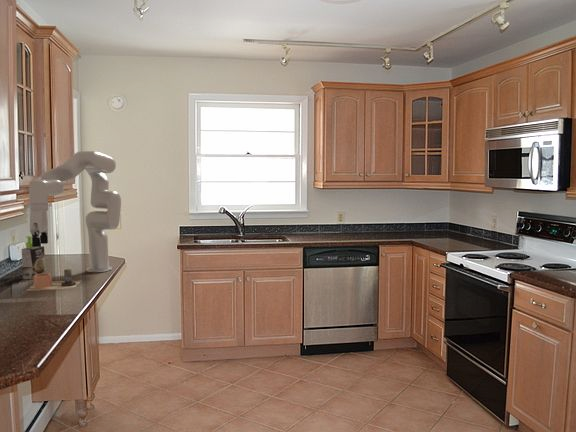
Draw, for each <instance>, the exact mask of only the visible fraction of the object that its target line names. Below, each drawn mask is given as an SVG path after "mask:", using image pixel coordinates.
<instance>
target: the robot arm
mask: <svg viewBox="0 0 576 432" xmlns="http://www.w3.org/2000/svg"><path fill="white" fill-rule="evenodd" d="M116 165H117V164H116V161H115V159H114V158H113V157H112V156H109V155H107V154H104V153H101V152H98V151H94V150H92V151H91V150H86V151H85V150H81V151H77V152H75V153H74V154H73V155H72V156H70V157H69V158H68V159H66V161H64V162H63V163H62V164H61V165H59V166H55V167H54V168H51V169H49V170H47V171H45V172H43V173H41V174H40V175H39V176H38V177H37V178H35V179H32V180H30V181H29V182H28V194H29V195H28V197H29V211H30V215H29V233H30V234H31V236H32V238H31V241H32V246H33V247H39V246H41V245H42V244H43V245H44V244H46V245H47V244H48V243H49V239H48V238H49V235H48V231H49V220H48V218H49V217H48V212H47V211H49V196H51V197H52V196H53V197H55V196H59V195H61V194H63V192H64V191H65V184H64V182H68V181H72V180H74V179H75V178H77V177H78V176H79V175H80V174H82V172H83V171H84V170H85V171H86V172H87V174H88V175H89V177H90V180H91V189H90V190H91V191H90V205H91V207H93V208H95V209H103V210H93V211H90V212H88V213H87V214H86V216H85V226H86V230H87V236H88V238H87V239H88V254H89V255H88V259H89V267H87V268H86V271H87V273H88V272H89V273H105V272H109V271H112V269H113V267H112V266H111V265H110V263H109V262H110V261H109V242H108V241H109V239H108V235H107V232H106V230H109V231H110V230H116V229H118V227H119V225H120V220H121V211H122V209H121V208H122V198H121V197H122V196H121V195H120V194H119V193H118V191H115V190H109V187H110V186H109V185H110V184H109V183H110V180H109V179H108V177H107V175H106V174H111V173H113V172H114V171H115V169H116V167H117V166H116ZM104 210H106V211H104Z"/></svg>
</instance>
